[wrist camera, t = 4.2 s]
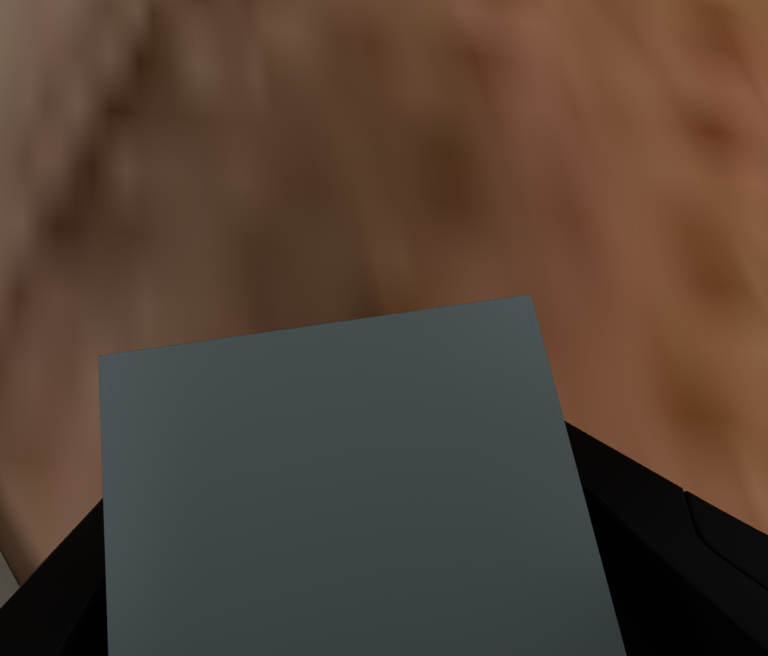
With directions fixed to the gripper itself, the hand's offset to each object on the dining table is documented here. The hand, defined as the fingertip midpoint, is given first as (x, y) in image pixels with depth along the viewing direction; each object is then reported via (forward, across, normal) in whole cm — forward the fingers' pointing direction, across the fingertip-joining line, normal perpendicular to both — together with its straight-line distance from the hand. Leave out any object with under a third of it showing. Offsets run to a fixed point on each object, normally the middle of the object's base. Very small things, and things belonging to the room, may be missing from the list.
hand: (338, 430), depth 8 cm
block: (+4, 0, +6) cm, 7 cm away
